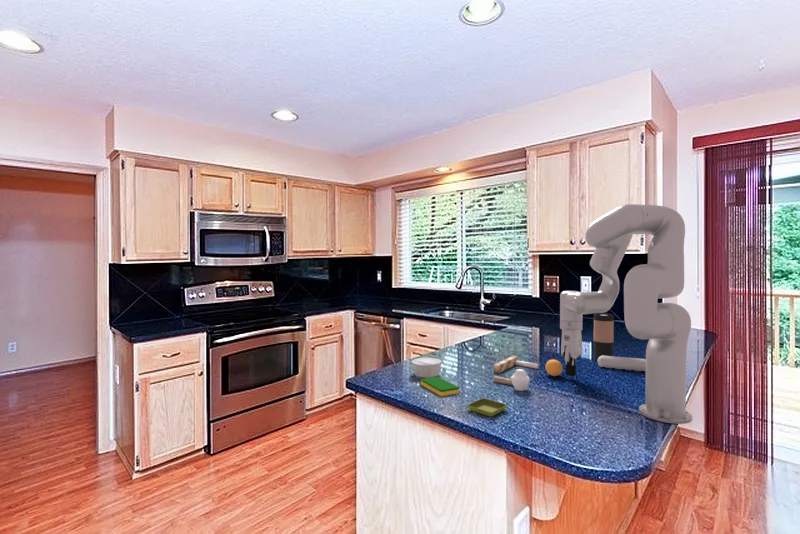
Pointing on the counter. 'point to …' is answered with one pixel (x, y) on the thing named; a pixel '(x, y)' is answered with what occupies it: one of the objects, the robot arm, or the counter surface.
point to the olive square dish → (487, 407)
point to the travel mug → (603, 335)
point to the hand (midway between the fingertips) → (570, 375)
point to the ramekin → (426, 367)
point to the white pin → (526, 364)
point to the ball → (554, 367)
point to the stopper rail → (505, 364)
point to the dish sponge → (439, 386)
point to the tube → (622, 363)
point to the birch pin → (502, 380)
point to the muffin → (520, 380)
